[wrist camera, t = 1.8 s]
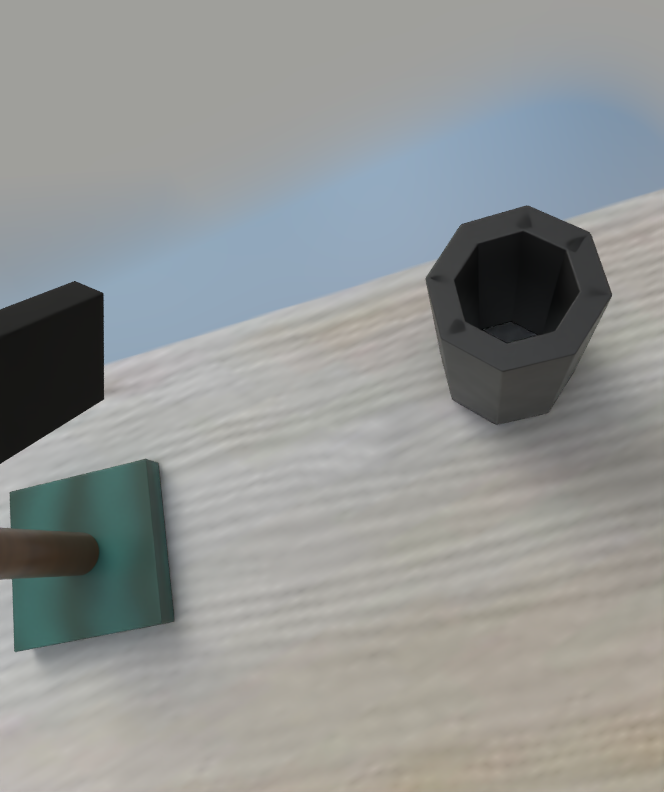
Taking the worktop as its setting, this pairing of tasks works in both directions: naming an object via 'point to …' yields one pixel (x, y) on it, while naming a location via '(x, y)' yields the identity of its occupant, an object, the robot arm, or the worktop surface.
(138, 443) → the worktop surface
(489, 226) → the grey octagonal sleeve
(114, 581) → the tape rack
